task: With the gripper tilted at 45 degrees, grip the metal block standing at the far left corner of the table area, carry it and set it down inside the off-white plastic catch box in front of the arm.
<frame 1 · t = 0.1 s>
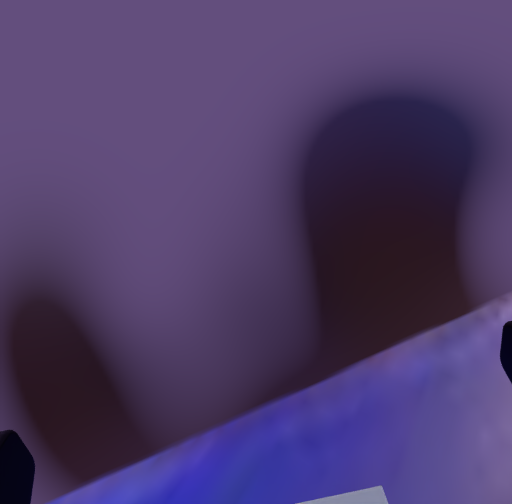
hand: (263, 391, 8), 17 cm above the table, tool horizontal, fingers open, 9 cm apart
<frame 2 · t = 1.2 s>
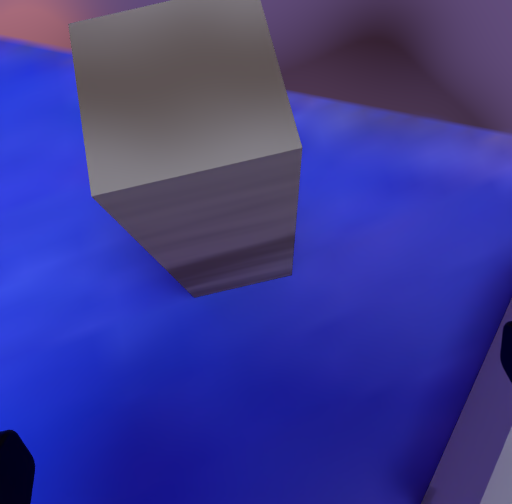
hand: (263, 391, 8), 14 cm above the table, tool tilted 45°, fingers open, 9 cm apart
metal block: (232, 240, 24), on the table
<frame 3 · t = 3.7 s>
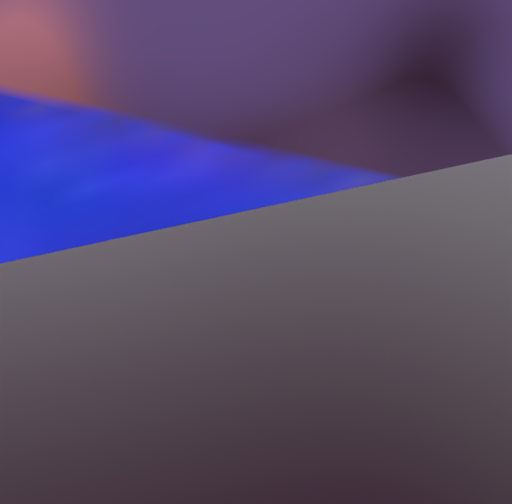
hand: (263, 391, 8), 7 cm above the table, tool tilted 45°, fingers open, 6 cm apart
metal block: (280, 429, 14), on the table, touching gripper
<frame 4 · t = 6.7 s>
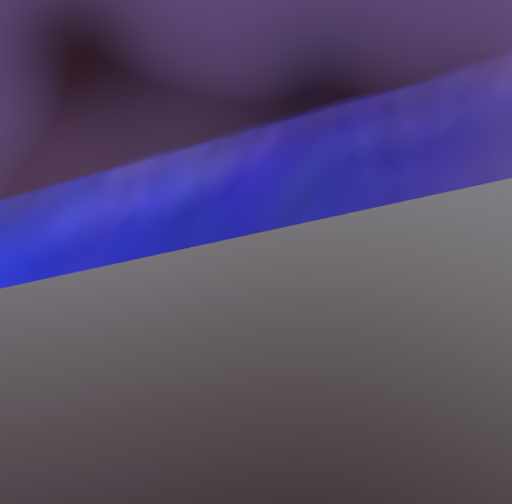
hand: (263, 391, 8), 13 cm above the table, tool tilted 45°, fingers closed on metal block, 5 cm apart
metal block: (279, 425, 15), point 6 cm above the table, touching gripper
when the fingers open (9 cm above the table, at t = 8.4 s): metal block stays where it is, resting on catch box.
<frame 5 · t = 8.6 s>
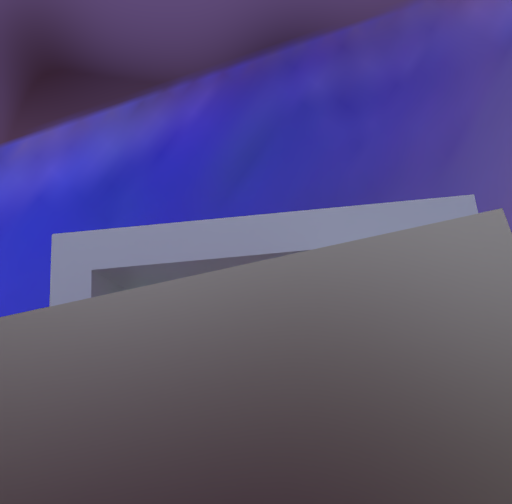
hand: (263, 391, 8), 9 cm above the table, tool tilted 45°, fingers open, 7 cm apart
catch box: (280, 421, 17), on the table
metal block: (280, 422, 16), point 1 cm above the table, touching catch box
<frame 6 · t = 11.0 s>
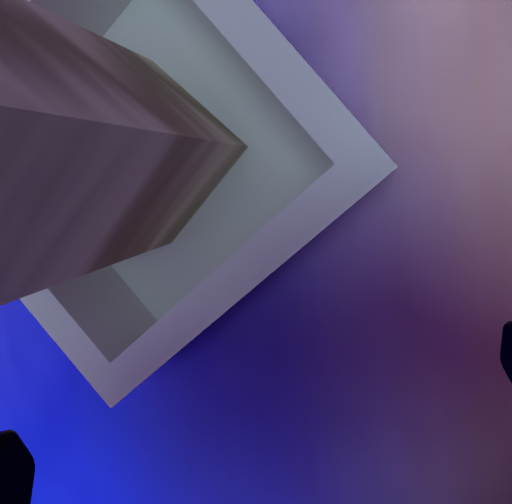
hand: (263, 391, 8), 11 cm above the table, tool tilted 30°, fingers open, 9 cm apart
catch box: (173, 156, 19), on the table
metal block: (162, 154, 18), point 1 cm above the table, touching catch box
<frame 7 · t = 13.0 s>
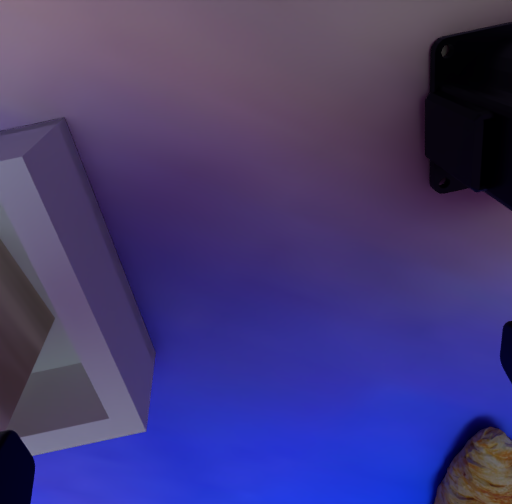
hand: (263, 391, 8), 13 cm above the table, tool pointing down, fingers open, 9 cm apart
croissant: (488, 497, 35), on the table
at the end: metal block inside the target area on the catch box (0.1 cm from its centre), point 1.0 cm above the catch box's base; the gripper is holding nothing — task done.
